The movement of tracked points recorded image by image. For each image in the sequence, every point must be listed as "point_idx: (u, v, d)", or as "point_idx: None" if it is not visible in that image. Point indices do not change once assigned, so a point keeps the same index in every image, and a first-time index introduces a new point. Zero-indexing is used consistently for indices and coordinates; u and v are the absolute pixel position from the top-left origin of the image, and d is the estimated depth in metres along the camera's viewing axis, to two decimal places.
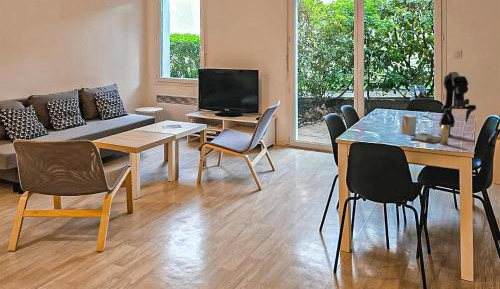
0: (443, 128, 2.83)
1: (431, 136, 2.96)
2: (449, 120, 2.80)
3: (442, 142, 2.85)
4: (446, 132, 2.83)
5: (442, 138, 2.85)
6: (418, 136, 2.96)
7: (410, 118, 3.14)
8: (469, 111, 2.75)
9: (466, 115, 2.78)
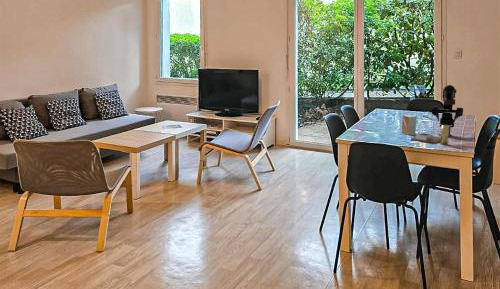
0: (443, 128, 2.83)
1: (431, 136, 2.96)
2: None
3: (442, 142, 2.85)
4: (446, 132, 2.83)
5: (442, 138, 2.85)
6: (418, 136, 2.96)
7: (410, 118, 3.14)
8: (456, 112, 2.89)
9: (454, 117, 2.91)
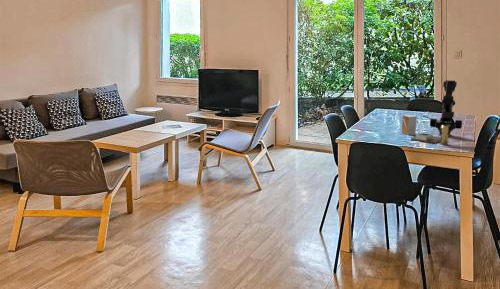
0: (443, 128, 2.83)
1: (431, 136, 2.96)
2: (440, 133, 2.86)
3: (442, 142, 2.85)
4: (446, 132, 2.83)
5: (442, 138, 2.85)
6: (418, 136, 2.96)
7: (410, 118, 3.14)
8: (451, 124, 2.84)
9: (449, 129, 2.85)
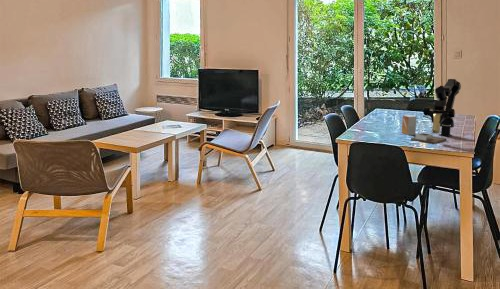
0: (434, 116, 2.86)
1: (431, 136, 2.96)
2: None
3: (434, 130, 2.88)
4: (437, 120, 2.85)
5: (434, 126, 2.87)
6: (418, 136, 2.96)
7: (410, 118, 3.14)
8: (443, 113, 2.86)
9: None
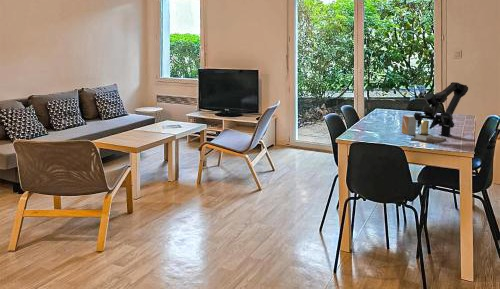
0: (422, 123, 2.94)
1: (431, 136, 2.96)
2: (417, 126, 2.98)
3: None
4: (424, 127, 2.94)
5: (421, 133, 2.96)
6: (418, 136, 2.96)
7: (410, 118, 3.14)
8: (434, 119, 2.91)
9: None
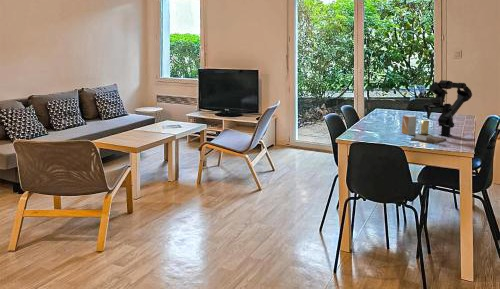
0: (422, 123, 2.94)
1: (431, 136, 2.96)
2: (428, 118, 3.03)
3: None
4: (424, 127, 2.94)
5: (421, 133, 2.96)
6: (418, 136, 2.96)
7: (410, 118, 3.14)
8: (443, 109, 2.95)
9: None
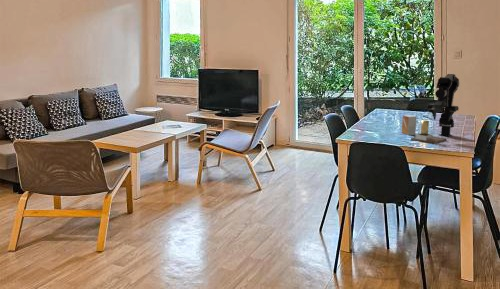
0: (422, 123, 2.94)
1: (431, 136, 2.96)
2: (434, 118, 3.01)
3: None
4: (424, 127, 2.94)
5: (421, 133, 2.96)
6: (418, 136, 2.96)
7: (410, 118, 3.14)
8: (449, 112, 2.90)
9: None
